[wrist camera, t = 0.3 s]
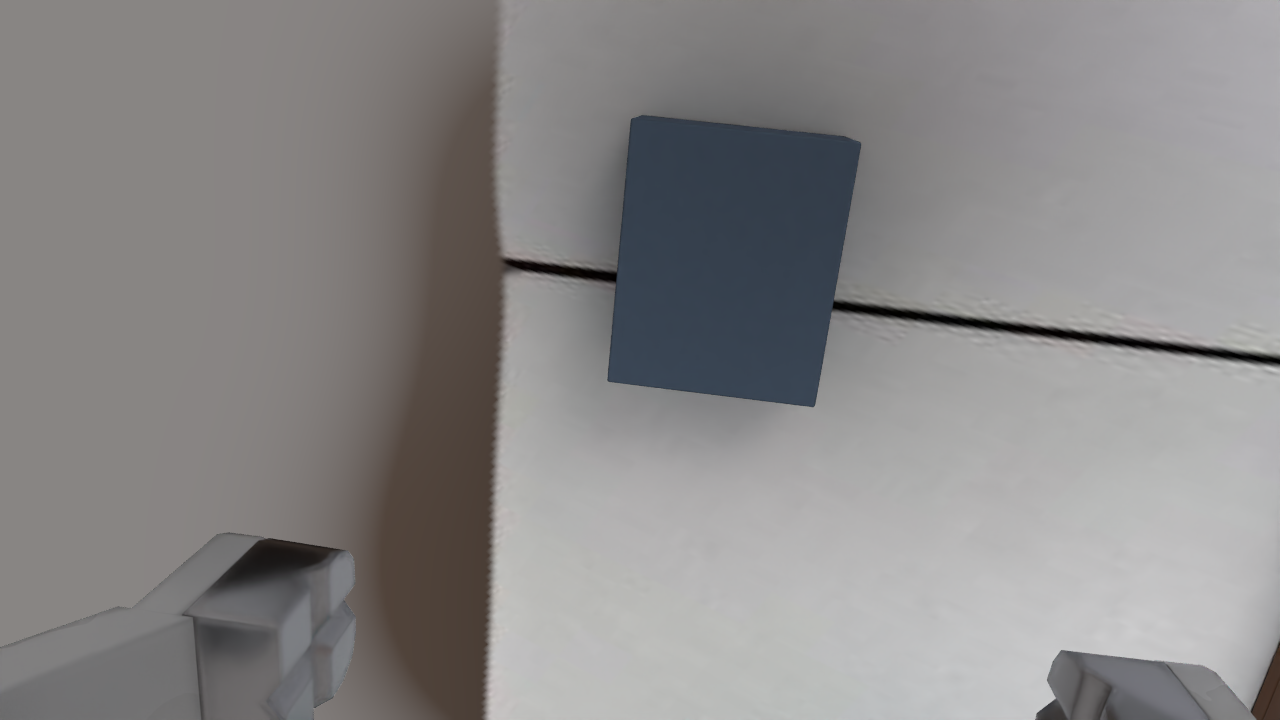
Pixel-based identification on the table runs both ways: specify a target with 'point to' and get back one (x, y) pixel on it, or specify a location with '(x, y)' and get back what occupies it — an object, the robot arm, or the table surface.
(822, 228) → the slate pad
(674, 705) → the table surface
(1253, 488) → the table surface
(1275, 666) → the frame
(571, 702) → the table surface
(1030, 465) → the table surface
